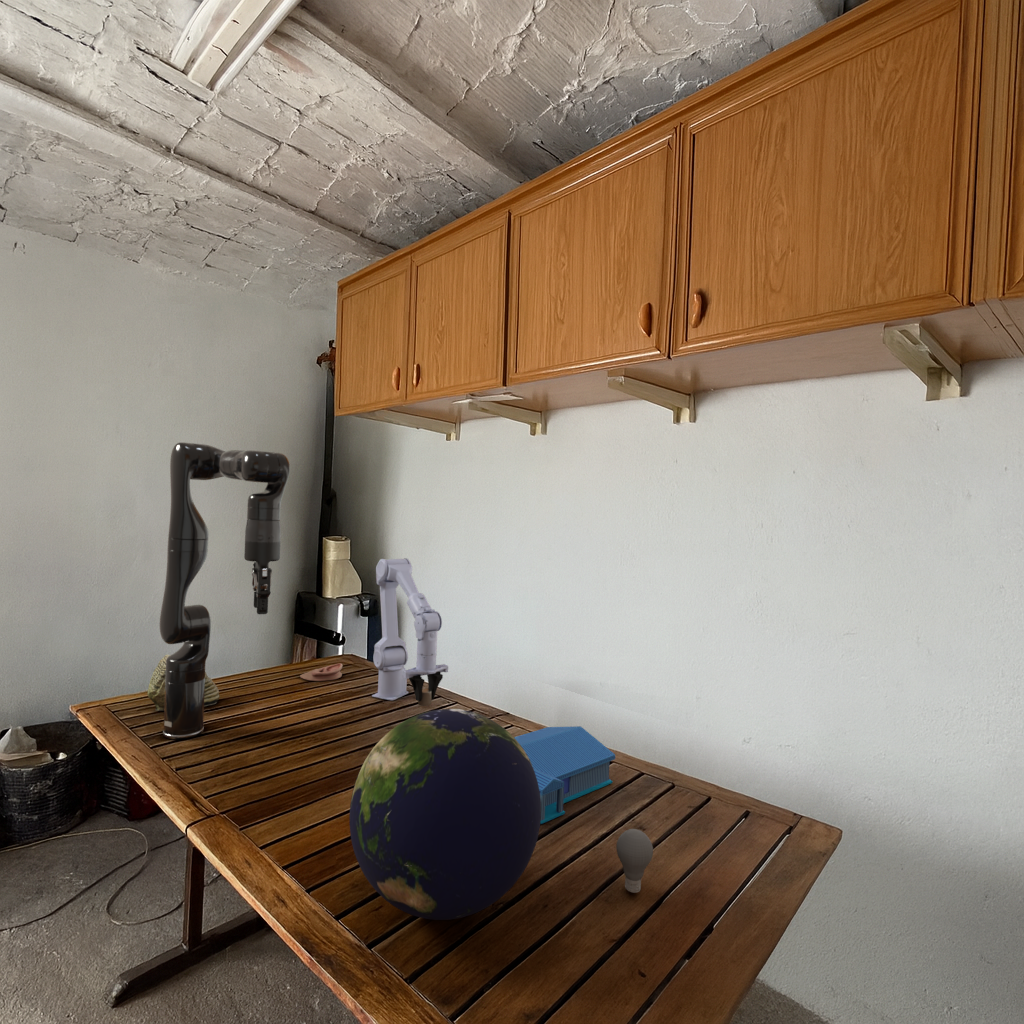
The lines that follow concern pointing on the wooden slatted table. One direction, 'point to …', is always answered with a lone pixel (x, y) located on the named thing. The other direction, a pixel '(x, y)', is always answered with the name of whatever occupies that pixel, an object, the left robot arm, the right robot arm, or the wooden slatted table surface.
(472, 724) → the globe
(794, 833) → the wooden slatted table surface
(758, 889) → the wooden slatted table surface
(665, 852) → the wooden slatted table surface
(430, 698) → the can
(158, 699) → the fossil
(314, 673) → the anatomical model
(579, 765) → the model building
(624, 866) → the light bulb
